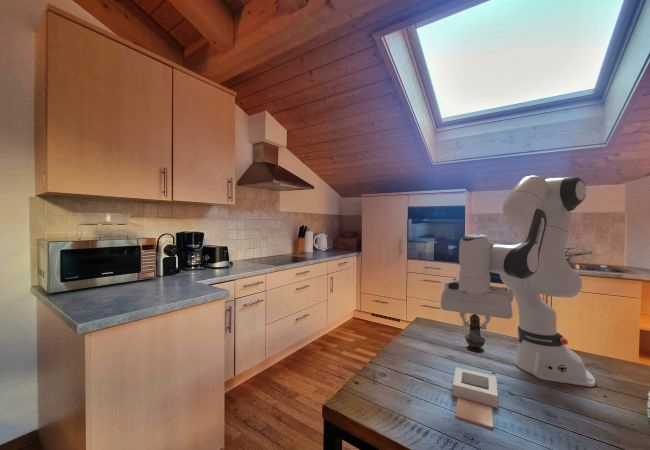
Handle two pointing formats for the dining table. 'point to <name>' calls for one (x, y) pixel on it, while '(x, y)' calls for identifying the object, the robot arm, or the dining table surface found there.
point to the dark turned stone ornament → (475, 336)
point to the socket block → (474, 392)
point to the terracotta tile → (474, 413)
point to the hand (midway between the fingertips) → (474, 327)
